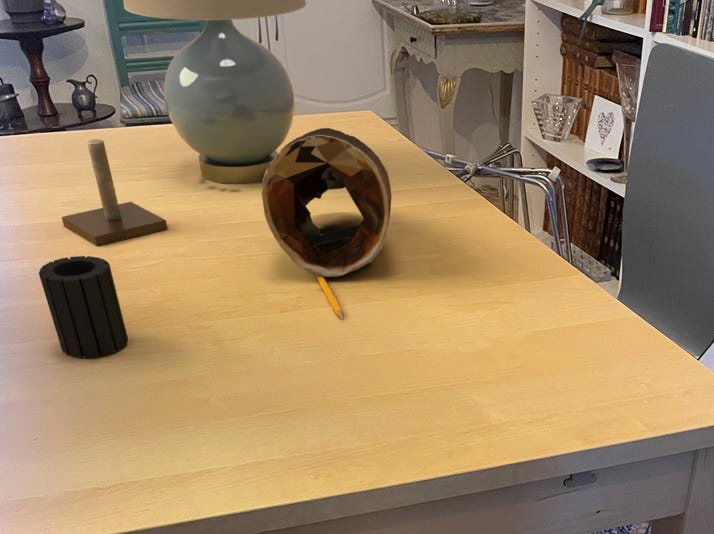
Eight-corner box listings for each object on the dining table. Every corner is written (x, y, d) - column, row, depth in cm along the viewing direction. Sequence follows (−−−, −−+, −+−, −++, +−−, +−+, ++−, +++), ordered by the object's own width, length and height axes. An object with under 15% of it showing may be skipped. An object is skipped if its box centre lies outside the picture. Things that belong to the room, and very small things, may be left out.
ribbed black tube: (79, 364, 95) (56, 286, 90) (51, 343, 99) (28, 266, 93) (139, 346, 98) (120, 269, 93) (110, 326, 102) (91, 251, 97)
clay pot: (380, 114, 125) (379, 121, 103) (400, 237, 133) (403, 267, 111) (270, 131, 125) (246, 142, 103) (296, 253, 133) (279, 286, 111)
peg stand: (97, 246, 120) (74, 157, 113) (63, 226, 125) (40, 139, 118) (168, 229, 125) (150, 142, 118) (132, 210, 130) (114, 126, 123)
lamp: (331, 191, 138) (301, -154, 112) (157, 202, 133) (84, -155, 107) (312, 146, 155) (282, -161, 130) (158, 154, 151) (95, -163, 125)
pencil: (322, 277, 113) (321, 271, 113) (346, 321, 104) (346, 315, 103) (315, 278, 113) (315, 272, 113) (339, 322, 104) (338, 316, 103)
